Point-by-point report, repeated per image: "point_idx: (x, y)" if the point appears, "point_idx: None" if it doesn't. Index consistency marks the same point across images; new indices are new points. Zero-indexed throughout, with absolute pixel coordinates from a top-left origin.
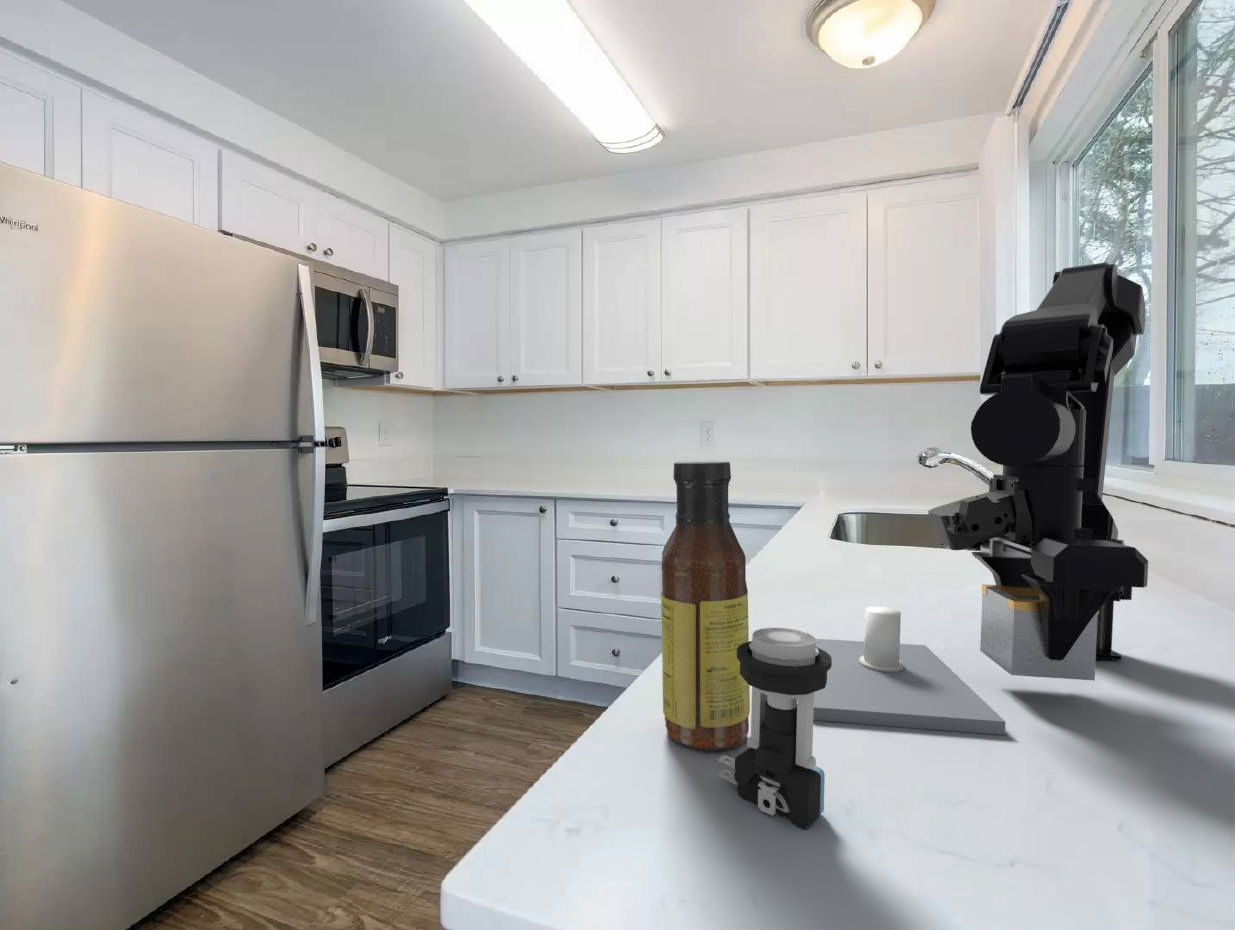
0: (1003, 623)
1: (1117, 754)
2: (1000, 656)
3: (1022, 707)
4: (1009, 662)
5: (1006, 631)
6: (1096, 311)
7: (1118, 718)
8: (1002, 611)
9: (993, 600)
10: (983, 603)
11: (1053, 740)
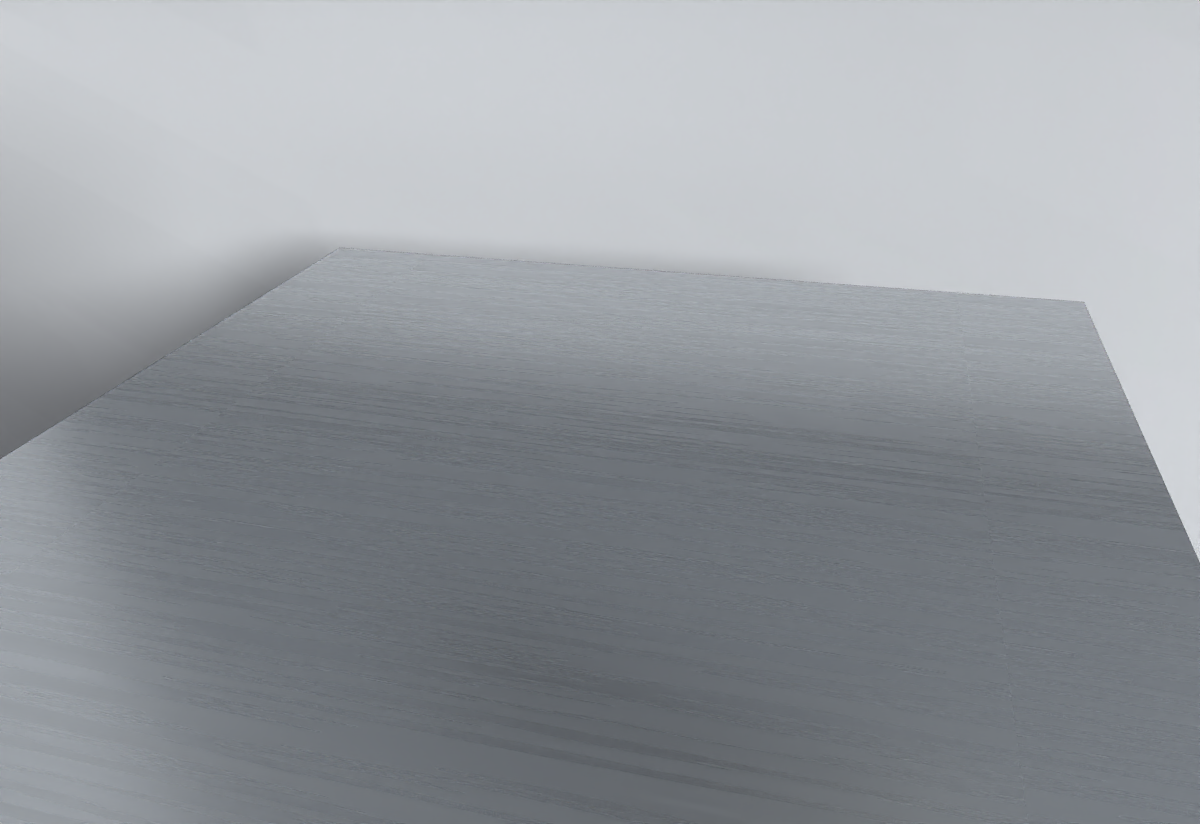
0: (283, 487)
1: (15, 402)
2: (521, 296)
3: (461, 255)
4: (332, 285)
5: (235, 428)
6: None
7: None
8: (238, 613)
9: (584, 776)
10: (1193, 730)
11: (31, 184)
